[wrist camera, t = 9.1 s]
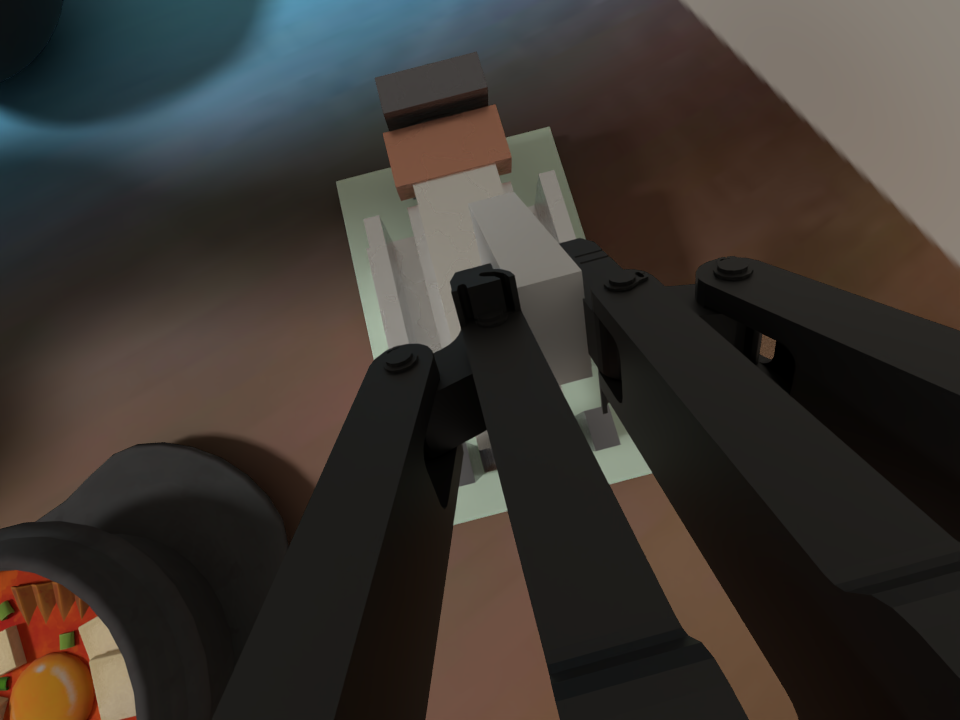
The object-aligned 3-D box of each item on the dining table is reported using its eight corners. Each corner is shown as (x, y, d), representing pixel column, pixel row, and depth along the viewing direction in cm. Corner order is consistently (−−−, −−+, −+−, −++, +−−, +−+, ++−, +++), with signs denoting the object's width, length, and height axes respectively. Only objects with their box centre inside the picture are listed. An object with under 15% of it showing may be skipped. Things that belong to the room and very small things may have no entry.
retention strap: (593, 444, 21) (599, 443, 20) (467, 477, 21) (465, 478, 20) (496, 121, 24) (495, 104, 23) (388, 149, 24) (382, 133, 23)
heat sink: (621, 438, 27) (673, 431, 19) (429, 488, 27) (397, 503, 19) (529, 140, 31) (539, 26, 23) (360, 183, 31) (309, 85, 22)
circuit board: (653, 470, 28) (660, 471, 26) (415, 532, 28) (411, 535, 26) (547, 138, 32) (549, 126, 31) (341, 191, 32) (335, 181, 31)
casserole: (146, 1007, 24) (-41, 1298, 16) (-137, 811, 26) (-431, 975, 18) (376, 527, 28) (324, 557, 20) (112, 393, 30) (-35, 369, 22)
